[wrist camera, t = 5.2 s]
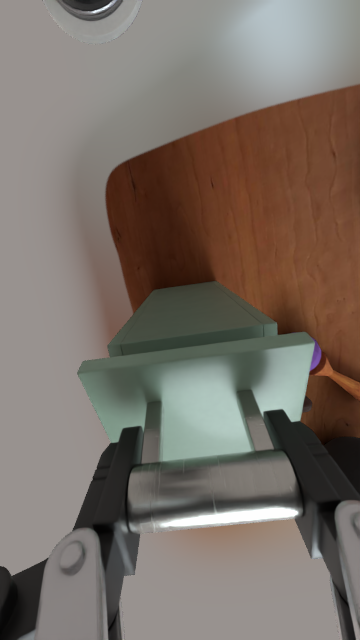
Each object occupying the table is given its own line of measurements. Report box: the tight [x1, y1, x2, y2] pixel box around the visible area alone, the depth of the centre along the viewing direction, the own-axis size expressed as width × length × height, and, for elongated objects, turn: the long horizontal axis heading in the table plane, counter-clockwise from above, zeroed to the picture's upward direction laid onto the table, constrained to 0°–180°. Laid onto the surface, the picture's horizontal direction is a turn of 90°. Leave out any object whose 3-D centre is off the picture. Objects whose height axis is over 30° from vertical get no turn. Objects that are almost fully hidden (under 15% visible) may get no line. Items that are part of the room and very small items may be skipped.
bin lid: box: [77, 332, 315, 534], centre depth 10 cm, size 11×10×5 cm
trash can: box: [108, 281, 277, 357], centre depth 25 cm, size 11×10×23 cm
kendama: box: [290, 332, 360, 402], centre depth 36 cm, size 6×6×20 cm
